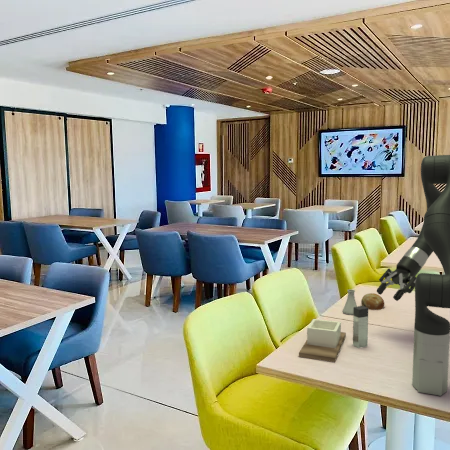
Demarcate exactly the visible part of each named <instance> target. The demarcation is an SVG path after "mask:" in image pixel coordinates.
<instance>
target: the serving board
mask: <svg viewBox="0 0 450 450" xmlns="http://www.w3.org/2000/svg"><path fill="white" fill-rule="evenodd" d="M346 336H347V333H346V332H343V331H341V338H340V340H339V343H338V345H337V347H336V348H330V347H323V346H316V345H309V344H307V339H306V340H305V342H304V343H303V345H302V347H301V349H300V350H299V352H298V357H299V358H304V359H311V360H317V361H323V362H332V363H336V360H337V359H338V356H339V354H340V352H341V349H342V347H343V344H344V341H345V339H346Z"/></svg>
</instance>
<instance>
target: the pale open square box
mask: <svg viewBox="0 0 450 450" xmlns="http://www.w3.org/2000/svg"><path fill="white" fill-rule="evenodd" d="M341 329H342V322H341V321H335V320H334V321H333V320H326V319H316V318H313V319H312V320H311V321H310V323H309V324H308V326H307V327H306V334H307V335H306V337H307V338H306V340H307V344H309V345H316V346H323V347H330V348H336V347H337V345H338V343H339V340H340V338H341V332H342V330H341Z"/></svg>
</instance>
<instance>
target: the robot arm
mask: <svg viewBox="0 0 450 450" xmlns="http://www.w3.org/2000/svg"><path fill="white" fill-rule="evenodd" d="M420 179H421V184H422V188H423V193H424V196H425V201H426V211H425V212H424V216H423V224H422V227H421V229H420V232H419V234H418V237H417V239H416V240H415V241H414V243H413V244H412V245H411V246H410V247H409V249H408V250H407V251H406V252H405V253H404V255H403V256H402V257H401V259H400V260H398V262H397V264H396V269H394V270H392V269H390V268H387V269H386V270H385V272H384V273H383V274H382V275H381V276H380V278H379V279H378V280H379V282H380V284H379V286H378V287H377V288H376V292H377V293H376V294H377V295H379V296H380V295H382V294H383V293H384V292H385V291H386V289H387V287H389V286H394V285H398V286H399V289H398V290H397V291H396V292H395V294H394V295H393V296H392V298H393V299H394V300H395V301H396V302H398V301H399V300H401V298H402V297H403V296H404V295H405V294H407V293H408V294H411V293H412V292H413V290H414V306H415V308H414V310H415V312H414V325H413V326H414V330H413V355H412V378H411V380H412V381H411V382H412V384H411V385H412V387H413V388H414V389H416V390H417V393H422V394H426V395H427V394H429V395H432V396H433V395H434V396H439V397H442V396H443V394H445V393H447V392H448V384H449V383H448V381H449V358H450V321H449V320H448V319H447V318H445V317H443V316H441V315H438V314H436V313H434V312H433V311H432V310H431V309H429V308H430V307H431V308H441V309H450V154H442V155H441V154H439V155H437V154H436V155H426V156H424V157H423V158H422V160H421V163H420ZM436 185H445V187H444V188H443V190H442V191H440V189H438V187H436ZM432 253H434V254H435V256H436V257H437V259H438V260H439V262H440V264H441V267H442V269H443V272H444V274H441V273H428V272H427V273H426V272H420V271H421V270H422V268H424V266H425V264H426V263H427V261H428V259H429V258H430V256H431V255H432ZM419 272H420V273H419Z"/></svg>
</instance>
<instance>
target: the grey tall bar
mask: <svg viewBox="0 0 450 450" xmlns="http://www.w3.org/2000/svg"><path fill="white" fill-rule="evenodd" d="M352 320H353V323H352V324H353V326H352V346H353V347H356V348H357V349H361V348H365V347H366V348H367V347H368V338H369V336H368V334H369V332H368V331H369V309H368V308H367V307H365V306H362V305H357V307H354V310H353V317H352Z"/></svg>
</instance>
